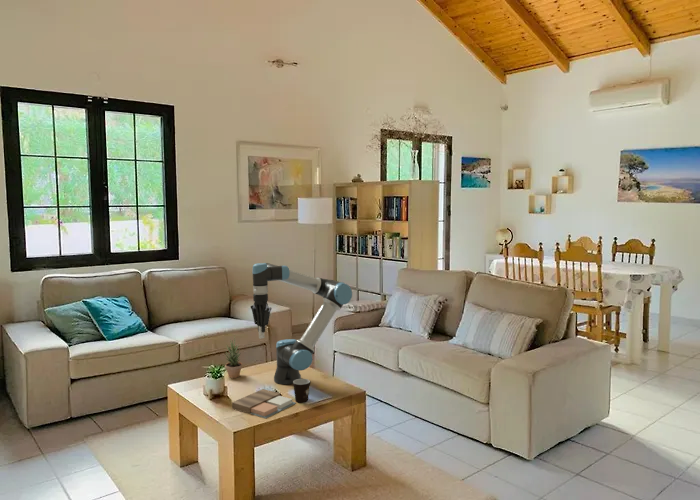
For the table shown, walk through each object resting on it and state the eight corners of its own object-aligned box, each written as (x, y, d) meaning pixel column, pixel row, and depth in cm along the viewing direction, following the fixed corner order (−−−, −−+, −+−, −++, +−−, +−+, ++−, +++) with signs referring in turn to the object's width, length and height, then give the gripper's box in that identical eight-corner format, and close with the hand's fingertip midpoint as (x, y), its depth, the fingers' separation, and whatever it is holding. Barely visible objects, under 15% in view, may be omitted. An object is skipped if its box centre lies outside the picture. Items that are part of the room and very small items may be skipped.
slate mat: (281, 399, 279) (281, 398, 279) (296, 403, 273) (296, 402, 273) (250, 413, 261) (250, 413, 261) (265, 418, 255) (265, 417, 255)
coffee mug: (298, 405, 271) (298, 385, 270) (290, 400, 278) (289, 381, 277) (318, 399, 278) (318, 380, 277) (309, 394, 285) (309, 376, 284)
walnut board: (263, 394, 286) (263, 388, 285) (280, 399, 279) (280, 393, 279) (232, 408, 268) (231, 402, 267) (249, 413, 261) (249, 407, 261)
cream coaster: (279, 399, 278) (279, 395, 278) (292, 402, 273) (292, 399, 272) (266, 404, 270) (266, 401, 270) (280, 408, 265) (280, 404, 265)
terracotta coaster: (264, 406, 269) (263, 402, 269) (277, 410, 264) (277, 406, 264) (250, 412, 262) (250, 408, 261) (264, 416, 256) (264, 412, 256)
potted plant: (233, 380, 308) (231, 337, 305) (222, 377, 314) (220, 335, 311) (246, 375, 316) (245, 334, 313) (235, 372, 322) (234, 331, 319)
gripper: (246, 293, 281) (247, 337, 283) (264, 295, 273) (265, 341, 276) (256, 291, 287) (257, 334, 289) (274, 293, 280) (275, 338, 282)
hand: (261, 338), depth 283 cm, fingers closed
